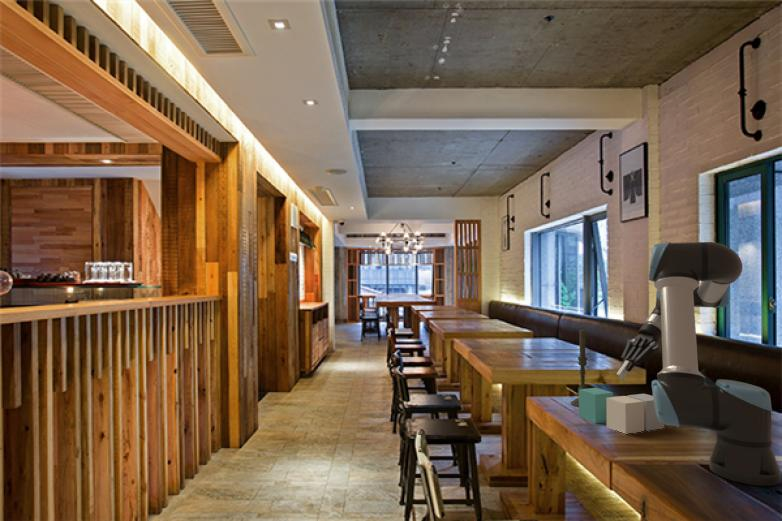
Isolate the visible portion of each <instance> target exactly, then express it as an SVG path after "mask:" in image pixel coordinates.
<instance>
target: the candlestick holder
mask: <svg viewBox="0 0 782 521" xmlns="http://www.w3.org/2000/svg"><path fill="white" fill-rule="evenodd" d="M578 332H579V356H578V357H577V360H578V362H577V363H578V365H579V366H580V368H579V374H580V385H579V387H578V389H577V390H578V391H579V390H580V389H588V388H587V387H586V385H585V381H586V378H585V377H586V368H585V367H587V365H588V363H587V360H588V359H589V358H588V357H586V330H584V328H582V329H579V331H578ZM570 405H572V406H573V407H576V408H579V397H577V398H575V399H574V400H572V401H570Z"/></svg>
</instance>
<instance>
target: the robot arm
mask: <svg viewBox="0 0 782 521" xmlns="http://www.w3.org/2000/svg"><path fill="white" fill-rule="evenodd" d="M648 272H649V273H648V280H649V281H650V282H653V286H654V288H655V289H656V292H655V296H656V298H655V307H654V308H653V310H652V312H651V313H650V314H649V315H648V317H647V318H646V319H645V321H644V322H643V324H642V325H641V327H640V328H639V330H638V334H637V335H636V336H635V337H634V338H632V339H631V337H630V338H627V342H626V345H625V348H624V350H623V352H622V355H621V359H622V361H623V362H622V363H621V365H620V366H619V367H620V368H619V369H618V371H617V372H616V375H617V376H618V377H619V379H621V380H624V379H625V378H626V377H627V375H628V373H630V372H631V371H632V370H633V369H634V367H635V366H637V365H638V366H641V365H642V364H643V363H645V361H646V360H647V359H648V358H649V357H651V356H652V354H654V352H656V351H657V350H659V349H660V346H659V345H658V342H659V341H660V340H661V345H662V346H661V348H662V349H661V350H662V352H661V353H662V354H661V356H662V369H661V370H660V371H659V372H657V375H656V378H657V379H654V380H652V381H651V390H652V396H653V400H654V406H655V411H656V415H657V418H658V420H659V421H660V422H661V423H663V424H664V425H667V426H674V427H676V428H680V427H683V428H684V427H685V428H690V429H691V428H692V429H701V430H707V431H708V430H709V431H716V442H715V444H714V446H713V449H712V452H711V454H710V458H709V470H710V471H711V472H712V473H714V474H715V475H716V476H719V477H721V478H724V479H726V480H729V481H732V482H736V483H740V484H745V485H752V486H762V487H763V486H765V487H769V486H770V487H771V486H777V485H780V484H781V483H782V472H781V468H780V466H779V463H778V461H777V458H776V456H775V453H774V451H773V443H772V441H773V440H772V436H773V435H772V432H773V431H772V411H773V408H772V400H771V395H770V393H769V392H768V391H767V390H766V389H765V388H762V387H760V386H757V385H755V384H754V385H753V384H750V383H747V382H742V381H737V380H733V379H732V380H731V379H716V382H714V383H715V384H716V385H707V384H706V380H705V376H703V375H702V374H701V373H700V372H701V371H699V363H698V362H699V361H698V348H697V347H698V345H697V332H696V331H697V329H696V316H695V315H696V314H695V312H696V311H695V308H715V309H717V308H726V307H727V306H728V302H729V292H728V288H729V286H730V285H731V284H733V283H734V282H736V281H737V280H738V279H739V278H740V276H741V274H742V272H743V261H742V259H741V257H740V256H739V255H738V254H737V253H736V251H734V250H733V249H732V248H730V247H729V246H727V245H725V244H722V243H718V242H714V241H701V242H699V241H698V242H697V241H694V242H693V241H692V242H689V241H688V242H671V241H669V242H663V243H662V242H661V243H659V242H658V243H655V244H654V245H653V246H652V250H651V256H650V265H649V271H648Z"/></svg>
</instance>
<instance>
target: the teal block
mask: <svg viewBox="0 0 782 521" xmlns="http://www.w3.org/2000/svg"><path fill="white" fill-rule="evenodd" d="M610 397H614V392H612V391H608V390H605V389H603V388H602V389H601V388H598V387H592V388H591V387H590V388H587V389H580V390H578V398H579V407H578V417H579V418H580V419H582V420H585V421H588V422H590V423H593V424H604V423H607V399H606V398H610Z"/></svg>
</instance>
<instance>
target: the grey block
mask: <svg viewBox="0 0 782 521" xmlns="http://www.w3.org/2000/svg"><path fill="white" fill-rule="evenodd" d="M626 396H627V397H630V398H634V399H637V400H641V401H644V430H646V431H648V432H650V431H649V430H654V429H661V428H664V429H665V424H663V423H661V422H660V421H659V420H658V418H657V415H656V411H655V406H654V400H653V395H650V394H648V393H647V394H646V393H638V394H628V395H626ZM661 430H662V429H661ZM646 431H645V432H646ZM654 431H655V430H654Z"/></svg>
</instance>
